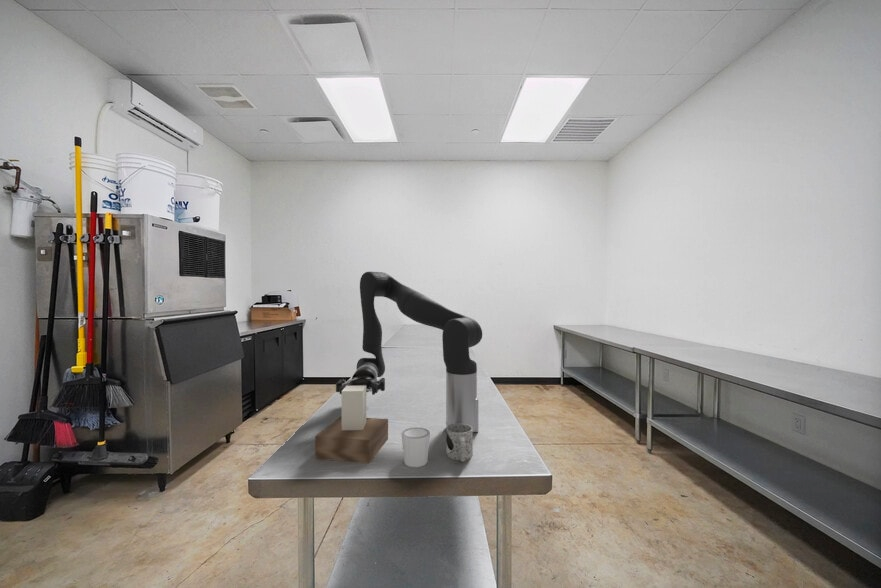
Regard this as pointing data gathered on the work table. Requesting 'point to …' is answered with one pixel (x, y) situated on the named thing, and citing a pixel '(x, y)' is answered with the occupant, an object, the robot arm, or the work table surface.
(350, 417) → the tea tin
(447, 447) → the mug
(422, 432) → the shot glass
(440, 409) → the work table surface
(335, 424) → the walnut block
